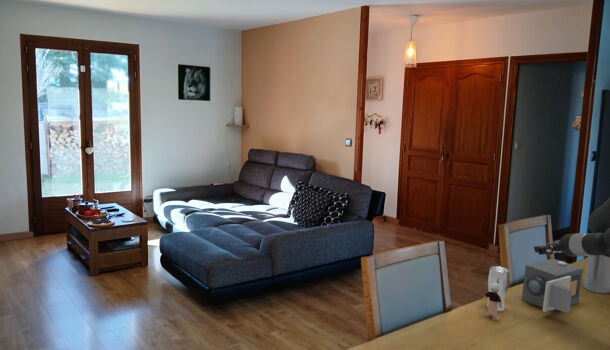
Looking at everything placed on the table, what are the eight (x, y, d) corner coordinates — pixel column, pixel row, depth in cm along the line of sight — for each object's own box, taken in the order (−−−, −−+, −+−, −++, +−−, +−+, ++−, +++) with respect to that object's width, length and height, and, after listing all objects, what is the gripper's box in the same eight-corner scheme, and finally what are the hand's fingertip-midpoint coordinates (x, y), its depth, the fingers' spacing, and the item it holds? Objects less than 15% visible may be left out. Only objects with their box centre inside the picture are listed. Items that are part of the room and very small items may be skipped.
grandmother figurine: (504, 319, 159) (508, 285, 157) (498, 322, 156) (502, 287, 154) (484, 311, 165) (488, 278, 163) (478, 313, 162) (482, 280, 160)
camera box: (548, 291, 186) (553, 256, 184) (579, 302, 176) (584, 266, 173) (517, 300, 175) (521, 263, 173) (547, 313, 165) (552, 274, 163)
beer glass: (505, 306, 170) (510, 268, 168) (505, 313, 164) (509, 274, 161) (486, 302, 173) (489, 264, 170) (484, 309, 166) (488, 270, 164)
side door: (564, 303, 169) (568, 275, 168) (583, 311, 163) (588, 282, 162) (542, 311, 162) (546, 281, 161) (561, 319, 156) (565, 289, 155)
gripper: (592, 228, 152) (557, 231, 167) (558, 239, 148) (525, 241, 164) (600, 250, 151) (563, 251, 166) (566, 261, 147) (532, 261, 163)
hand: (544, 246), depth 165 cm, fingers open, 8 cm apart
